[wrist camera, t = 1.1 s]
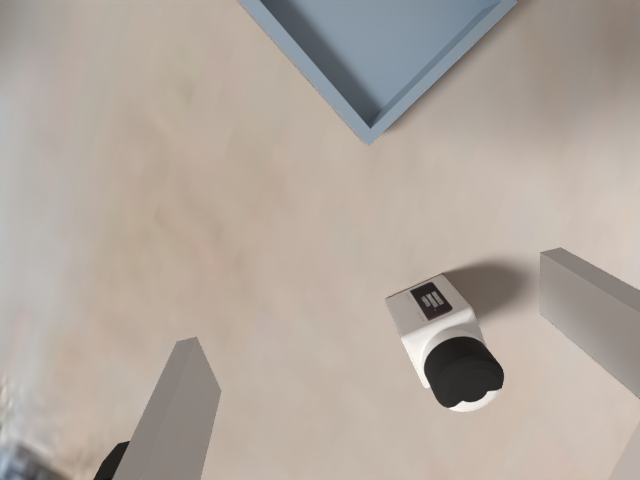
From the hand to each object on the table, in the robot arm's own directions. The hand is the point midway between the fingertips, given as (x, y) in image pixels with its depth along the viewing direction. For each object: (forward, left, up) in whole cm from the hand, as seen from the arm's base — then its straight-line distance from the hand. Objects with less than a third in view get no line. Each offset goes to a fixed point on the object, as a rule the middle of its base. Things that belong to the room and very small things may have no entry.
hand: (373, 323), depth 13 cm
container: (+21, -2, -25) cm, 33 cm away
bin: (-8, +14, -25) cm, 30 cm away
